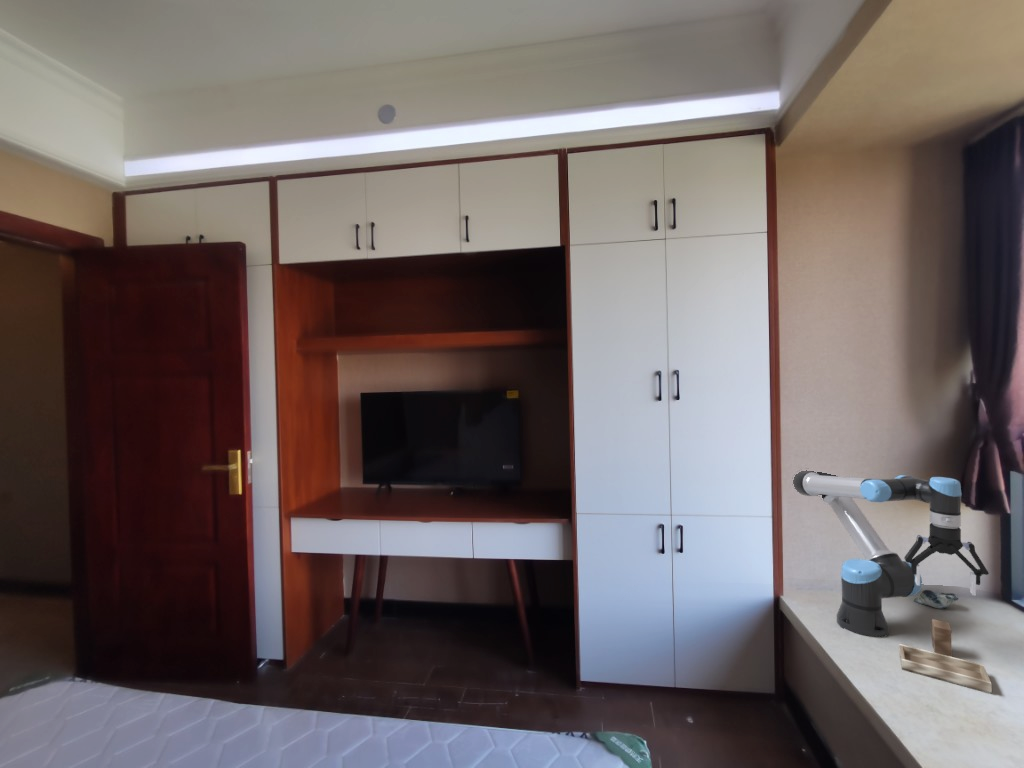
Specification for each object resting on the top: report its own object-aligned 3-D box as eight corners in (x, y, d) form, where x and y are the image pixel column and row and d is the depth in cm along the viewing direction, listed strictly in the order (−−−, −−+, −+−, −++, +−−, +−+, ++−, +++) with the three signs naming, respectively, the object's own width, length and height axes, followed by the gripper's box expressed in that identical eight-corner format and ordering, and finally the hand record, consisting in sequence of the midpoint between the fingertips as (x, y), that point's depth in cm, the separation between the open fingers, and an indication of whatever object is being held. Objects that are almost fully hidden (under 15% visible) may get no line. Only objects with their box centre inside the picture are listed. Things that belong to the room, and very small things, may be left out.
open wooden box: (902, 669, 143) (901, 659, 143) (899, 652, 152) (899, 643, 151) (991, 693, 131) (991, 683, 131) (983, 674, 140) (983, 664, 140)
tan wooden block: (934, 654, 151) (934, 626, 150) (932, 645, 155) (932, 618, 155) (951, 658, 148) (951, 630, 148) (948, 649, 153) (948, 622, 153)
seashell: (948, 589, 182) (911, 584, 186) (960, 597, 175) (922, 592, 179) (947, 606, 182) (911, 600, 186) (960, 614, 175) (922, 608, 178)
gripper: (898, 522, 155) (897, 584, 156) (1002, 535, 142) (1002, 603, 142) (894, 516, 161) (894, 575, 162) (994, 528, 148) (993, 592, 149)
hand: (944, 588), depth 152 cm, fingers open, 13 cm apart
